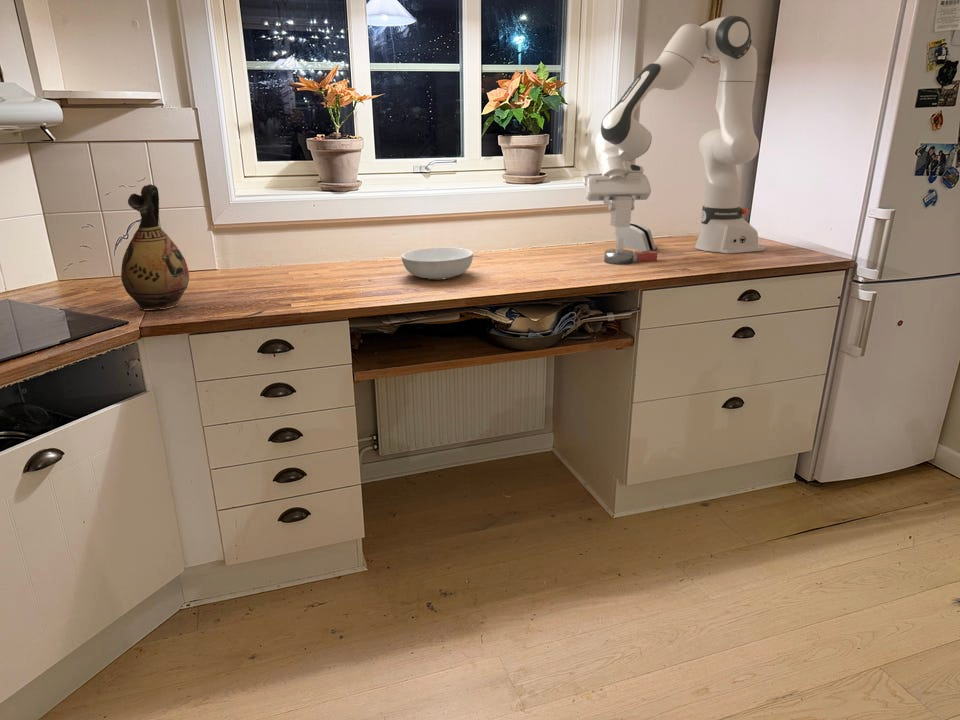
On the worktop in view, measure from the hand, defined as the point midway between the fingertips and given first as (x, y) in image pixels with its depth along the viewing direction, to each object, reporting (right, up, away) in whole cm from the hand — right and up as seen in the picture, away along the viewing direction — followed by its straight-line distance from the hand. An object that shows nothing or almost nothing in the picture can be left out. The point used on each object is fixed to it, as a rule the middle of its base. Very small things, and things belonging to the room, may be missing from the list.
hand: (621, 209), depth 210 cm
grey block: (0, -5, +2) cm, 5 cm away
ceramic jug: (-125, -33, -35) cm, 134 cm away
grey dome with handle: (+4, -15, +7) cm, 17 cm away
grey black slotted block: (+10, -8, +26) cm, 29 cm away
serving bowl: (-56, -22, -9) cm, 61 cm away
